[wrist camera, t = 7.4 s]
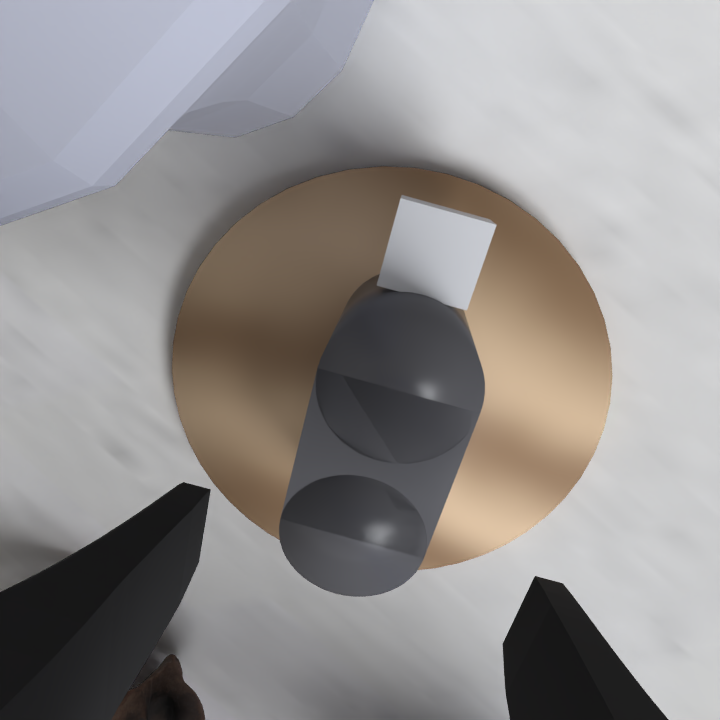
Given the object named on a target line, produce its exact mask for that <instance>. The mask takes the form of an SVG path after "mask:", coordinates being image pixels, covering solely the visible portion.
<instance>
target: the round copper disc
mask: <svg viewBox="0 0 720 720" xmlns="http://www.w3.org/2000/svg"><path fill="white" fill-rule="evenodd" d="M402 195H404V196H408V197H411V198H415V199H419V200H422V201H426V202H429V203H433V204H437V205H440V206H444V207H447V208H451V209H455V210H458V211H462V212H465V213H469V214H472V215H476V216H480V217H483V218H487V219H490V220H491V221H492V222H494V223H495V224H496V228H495V231H494V234H493V237H492V240H491V243H490V246H489V248H488V251H487V254H486V257H485V260H484V263H483V266H482V268H481V271H480V274H479V277H478V280H477V283H476V286H475V289H474V291H473V294H472V297H471V300H470V303H469V306H468V309H467V310H464V313H465V316H466V319H467V322H468V325H469V328H470V331H471V334H472V337H473V341H474V344H475V347H476V350H477V353H478V356H479V359H480V362H481V366H482V369H483V373H484V380H485V396H484V402H483V406H482V409H481V413H480V415H479V418H478V421H477V423H476V426H475V428H474V431H473V433H472V436H471V439H470V441H469V444H468V446H467V449H466V451H465V454H464V457H463V459H462V462H461V464H460V467H459V469H458V472H457V475H456V477H455V480H454V482H453V485H452V487H451V490H450V493H449V495H448V498H447V500H446V503H445V505H444V508H443V511H442V513H441V516H440V518H439V521H438V523H437V526H436V529H435V531H434V534H433V536H432V539H431V541H430V544H429V547H428V549H427V552H426V554H425V557H424V559H423V561H422V563H421V565H420V567H419V568H418V570H422V569H432V568H438V567H442V566H447V565H452V564H457V563H460V562H463V561H466V560H469V559H473V558H476V557H479V556H482V555H484V554H486V553H488V552H491V551H493V550H495V549H497V548H499V547H502V546H504V545H506V544H507V543H509V542H511V541H512V540H514V539H516V538H517V537H519V536H521V535H522V534H524V533H526V532H527V531H528V530H530V529H531V528H532V527H534V526H535V525H536V524H537V523H539V522H540V521H541V520H542V519H544V518H545V517H546V516H547V515H548V514H549V513H550V512H551V511H552V510H553V509H554V508H555V507H556V506H557V505H558V504H559V503H560V502H561V501H562V500H563V499H564V498H565V497H566V496H567V495H568V493H569V492H570V491H571V489H572V488H573V487H574V485H575V484H576V483H577V481H578V480H579V479H580V478H581V476H582V474H583V472H584V471H585V469H586V467H587V465H588V464H589V462H590V460H591V458H592V457H593V455H594V453H595V450H596V448H597V445H598V443H599V440H600V438H601V435H602V432H603V430H604V426H605V422H606V418H607V413H608V409H609V405H610V397H611V385H612V363H611V348H610V343H609V339H608V334H607V329H606V325H605V320H604V317H603V315H602V312H601V310H600V307H599V304H598V302H597V299H596V297H595V294H594V291H593V290H592V288H591V286H590V284H589V283H588V281H587V279H586V277H585V276H584V274H583V272H582V270H581V269H580V267H579V265H578V264H577V263H576V261H575V260H574V259H573V258H572V256H571V255H570V254H569V253H568V251H567V250H566V249H565V247H564V246H563V245H562V244H561V242H560V241H559V240H558V239H557V238H556V237H555V236H554V235H553V234H552V233H550V232H549V231H548V230H547V229H546V228H545V227H544V226H543V225H542V224H541V223H540V222H539V221H538V220H537V219H535V218H534V217H533V216H531V215H530V214H528V213H527V212H525V211H524V210H523V209H521V208H520V207H518V206H517V205H516V204H514V203H513V202H511V201H510V200H508V199H506V198H504V197H502V196H500V195H498V194H496V193H494V192H492V191H490V190H488V189H486V188H484V187H482V186H480V185H478V184H475V183H472V182H469V181H466V180H463V179H460V178H457V177H454V176H452V175H449V174H445V173H440V172H434V171H429V170H424V169H418V168H408V167H387V166H381V167H370V168H359V169H350V170H345V171H341V172H336V173H332V174H328V175H324V176H320V177H316V178H313V179H311V180H308V181H306V182H303V183H301V184H298V185H295V186H293V187H290V188H288V189H286V190H284V191H282V192H281V193H279V194H277V195H275V196H273V197H272V198H270V199H268V200H266V201H265V202H263V203H261V204H260V205H258V206H257V207H256V208H254V209H253V210H252V211H251V212H249V213H248V214H247V215H245V216H244V217H243V218H242V219H240V220H239V221H238V222H236V223H235V224H234V225H233V226H232V228H231V229H230V230H229V231H228V232H227V233H226V234H225V235H224V236H223V237H222V238H221V239H220V240H219V241H218V242H217V243H216V244H215V246H214V247H213V249H212V250H211V251H210V253H209V254H208V256H207V257H206V258H205V260H204V261H203V263H202V264H201V265H200V267H199V269H198V271H197V272H196V274H195V276H194V278H193V280H192V282H191V284H190V286H189V288H188V290H187V292H186V295H185V298H184V301H183V304H182V307H181V310H180V313H179V316H178V320H177V325H176V331H175V336H174V341H173V358H172V374H173V384H174V394H175V399H176V403H177V407H178V412H179V416H180V420H181V422H182V425H183V428H184V430H185V433H186V436H187V438H188V441H189V443H190V445H191V447H192V449H193V451H194V453H195V455H196V457H197V459H198V460H199V462H200V464H201V466H202V467H203V468H204V470H205V471H206V473H207V474H208V476H209V477H210V479H211V480H212V482H213V483H214V484H215V486H216V487H217V488H218V489H219V490H220V491H221V492H222V493H223V495H224V496H225V497H226V498H227V499H228V500H229V501H230V503H232V504H233V505H234V506H235V507H236V508H237V509H238V510H239V511H240V512H241V513H242V514H244V515H245V516H246V517H247V518H248V519H249V520H251V521H252V522H253V523H255V524H256V525H258V526H259V527H260V528H262V529H263V530H264V531H266V532H267V533H269V534H270V535H272V536H274V537H276V538H277V539H279V540H280V537H279V524H280V518H281V514H282V510H283V506H284V502H285V498H286V493H287V489H288V485H289V481H290V477H291V473H292V469H293V465H294V461H295V457H296V453H297V449H298V445H299V441H300V437H301V433H302V429H303V424H304V420H305V416H306V412H307V408H308V404H309V400H310V396H311V392H312V388H313V384H314V380H315V376H316V372H317V368H318V365H319V362H320V358H321V356H322V354H323V352H324V350H325V348H326V346H327V344H328V342H329V340H330V338H331V336H332V333H333V331H334V329H335V327H336V325H337V323H338V321H339V319H340V317H341V315H342V313H343V311H344V308H345V306H346V304H347V302H348V300H349V299H350V297H351V296H352V294H353V293H354V292H355V291H356V290H357V289H358V288H359V287H360V286H361V285H362V284H363V283H364V282H366V281H367V280H369V279H370V278H372V277H374V276H376V275H378V274H380V271H381V267H382V264H383V260H384V257H385V253H386V249H387V246H388V242H389V238H390V235H391V231H392V227H393V224H394V220H395V217H396V213H397V209H398V206H399V202H400V198H401V196H402Z"/></svg>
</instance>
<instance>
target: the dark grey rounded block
mask: <svg viewBox="0 0 720 720" xmlns="http://www.w3.org/2000/svg"><path fill="white" fill-rule="evenodd" d="M495 228H496V224H495V223H494V222H492V221H491V220H490V219H487V218H483V217H480V216H476V215H472V214H469V213H465V212H462V211H458V210H455V209H451V208H447V207H444V206H440V205H437V204H433V203H429V202H426V201H422V200H419V199H415V198H411V197H408V196H404V195H402V196H401V198H400V202H399V206H398V209H397V213H396V217H395V220H394V224H393V227H392V231H391V235H390V238H389V242H388V246H387V249H386V253H385V257H384V260H383V264H382V267H381V271H380V274H378V275H376V276H374V277H372V278H370V279H369V280H367V281H366V282H364V283H363V284H362V285H361V286H360V287H359V288H358V289H357V290H356V291H355V292H354V293H353V294H352V296H351V297H350V299H349V300H348V302H347V304H346V306H345V308H344V311H343V313H342V315H341V317H340V319H339V321H338V323H337V325H336V327H335V329H334V331H333V333H332V336H331V338H330V340H329V342H328V344H327V346H326V348H325V350H324V352H323V354H322V356H321V358H320V362H319V365H318V368H317V372H316V376H315V380H314V384H313V388H312V392H311V396H310V400H309V404H308V408H307V412H306V416H305V420H304V424H303V429H302V433H301V437H300V441H299V445H298V449H297V453H296V457H295V461H294V465H293V469H292V473H291V477H290V481H289V485H288V489H287V493H286V498H285V502H284V506H283V510H282V514H281V518H280V524H279V537H280V543H281V546H282V549H283V552H284V554H285V556H286V558H287V559H288V561H289V562H290V564H291V565H292V566H293V567H294V569H295V570H296V571H297V572H298V573H299V574H300V575H301V576H303V577H304V578H305V579H307V580H308V581H309V582H311V583H313V584H314V585H316V586H318V587H320V588H322V589H324V590H327V591H330V592H333V593H336V594H341V595H346V596H373V595H378V594H382V593H385V592H388V591H391V590H393V589H395V588H397V587H399V586H400V585H402V584H404V583H405V582H406V581H407V580H409V579H410V578H411V577H412V576H413V575H414V574H415V573H416V571H417V570H418V568H419V567H420V565H421V563H422V561H423V559H424V557H425V554H426V552H427V549H428V547H429V544H430V541H431V539H432V536H433V534H434V531H435V529H436V526H437V523H438V521H439V518H440V516H441V513H442V511H443V508H444V505H445V503H446V500H447V498H448V495H449V493H450V490H451V487H452V485H453V482H454V480H455V477H456V475H457V472H458V469H459V467H460V464H461V462H462V459H463V457H464V454H465V451H466V449H467V446H468V444H469V441H470V439H471V436H472V433H473V431H474V428H475V426H476V423H477V421H478V418H479V415H480V413H481V409H482V406H483V402H484V396H485V380H484V373H483V369H482V366H481V362H480V359H479V356H478V353H477V350H476V347H475V344H474V341H473V337H472V334H471V331H470V328H469V325H468V322H467V319H466V316H465V313H464V310H467V309H468V306H469V303H470V300H471V297H472V294H473V291H474V289H475V286H476V283H477V280H478V277H479V274H480V271H481V268H482V266H483V263H484V260H485V257H486V254H487V251H488V248H489V246H490V243H491V240H492V237H493V234H494V231H495Z"/></svg>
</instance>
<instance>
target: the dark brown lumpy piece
mask: <svg viewBox="0 0 720 720" xmlns="http://www.w3.org/2000/svg"><path fill="white" fill-rule="evenodd" d="M111 720H205V715H204V710H203V706H202V704H201V702H200V700H199V698H198V696H197V694H196V693H195V692H194V691H193V690H192V689H191V688H190V687H189V686H188V685H187V684H186V683H185V682H184V680H183V676H182V668H181V665H180V662H179V660H178V658H177V657H176V656H175V655H174V654H171V655H168V656H167V657H166V658H165V659H164V661H163V662H162V663H161V665H160V666H159V668H158V669H157V670H156V671H154V672H153V673H152V674H151V675H150V676H149V678H148V679H146V680H145V681H144V682H143V683H141V684H140V685H139V686H138V687H137V688H133V689H131V690H129V691H128V692H127V694H126V695H125V697H124V699H123V700H122V702H121V704H120V705H119V707H118V709H117V710H116V712H115V714H114V716H113V718H112V719H111Z"/></svg>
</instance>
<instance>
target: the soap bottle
mask: <svg viewBox="0 0 720 720" xmlns="http://www.w3.org/2000/svg"><path fill="white" fill-rule="evenodd" d="M373 1H374V0H0V226H1V225H4V224H7V223H9V222H12V221H15V220H18V219H21V218H24V217H27V216H30V215H32V214H35V213H38V212H41V211H44V210H47V209H50V208H53V207H55V206H58V205H61V204H64V203H67V202H70V201H73V200H75V199H78V198H81V197H84V196H87V195H90V194H93V193H96V192H98V191H101V190H104V189H107V188H110V187H113V186H115V185H116V184H117V183H118V182H119V181H120V180H121V179H122V178H123V177H124V176H125V175H126V174H127V173H128V172H129V171H130V170H131V169H132V167H133V166H134V165H135V164H136V163H137V162H138V161H139V160H140V159H141V158H142V157H143V156H144V155H145V154H146V153H147V152H148V151H149V150H150V149H151V147H152V146H153V145H154V144H155V143H156V142H157V141H158V140H159V139H160V138H161V137H162V136H163V135H164V134H165V133H166V132H167V131H168V130H171V131H180V132H189V133H199V134H208V135H217V136H227V137H238V136H241V135H244V134H246V133H249V132H252V131H255V130H258V129H261V128H264V127H266V126H269V125H272V124H275V123H278V122H281V121H283V120H286V119H289V118H292V117H294V116H295V115H296V114H297V113H298V112H299V111H300V110H301V109H302V108H303V107H304V106H305V105H306V104H307V103H308V102H310V101H311V100H312V99H313V98H314V97H315V96H316V95H317V94H318V93H319V92H320V91H321V90H322V89H323V88H324V87H325V86H326V85H327V84H328V83H329V82H330V81H331V80H332V79H333V78H335V77H336V76H337V75H338V74H339V73H340V72H341V71H342V69H343V67H344V65H345V63H346V60H347V58H348V56H349V54H350V52H351V49H352V47H353V45H354V43H355V41H356V38H357V36H358V34H359V32H360V30H361V27H362V25H363V23H364V21H365V19H366V16H367V14H368V12H369V10H370V8H371V5H372V3H373Z"/></svg>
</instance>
